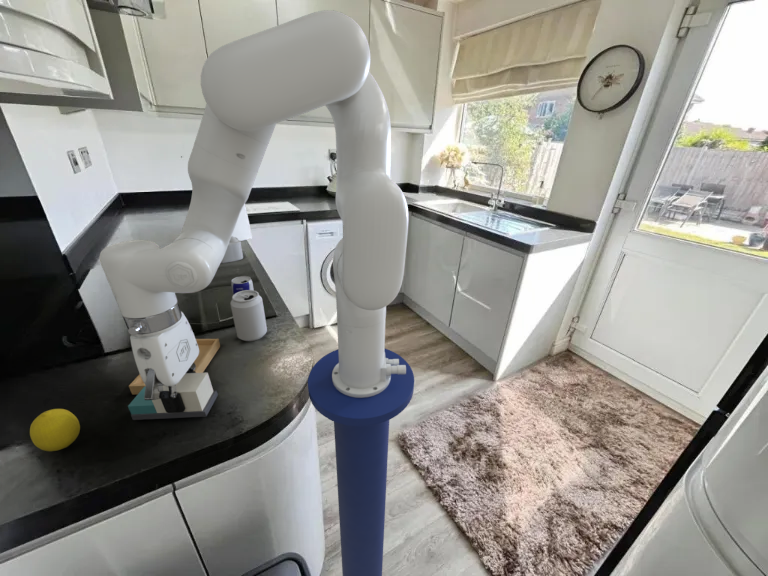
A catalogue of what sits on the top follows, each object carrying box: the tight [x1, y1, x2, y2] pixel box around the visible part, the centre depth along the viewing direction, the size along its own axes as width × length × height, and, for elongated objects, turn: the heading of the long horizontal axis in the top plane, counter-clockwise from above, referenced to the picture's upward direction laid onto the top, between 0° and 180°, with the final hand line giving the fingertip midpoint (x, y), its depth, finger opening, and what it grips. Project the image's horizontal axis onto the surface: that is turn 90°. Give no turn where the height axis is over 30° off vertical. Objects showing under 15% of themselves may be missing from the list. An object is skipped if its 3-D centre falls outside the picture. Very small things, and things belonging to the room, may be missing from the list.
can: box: [229, 290, 268, 342], centre depth 83 cm, size 8×8×12 cm
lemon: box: [29, 408, 81, 452], centre depth 53 cm, size 6×6×8 cm
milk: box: [232, 203, 253, 242], centre depth 154 cm, size 12×12×26 cm
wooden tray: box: [128, 338, 221, 395], centre depth 73 cm, size 11×16×2 cm
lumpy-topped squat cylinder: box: [220, 236, 244, 264], centre depth 133 cm, size 10×13×9 cm
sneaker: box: [127, 372, 219, 421], centre depth 60 cm, size 13×5×6 cm, turn 94°
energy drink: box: [230, 275, 255, 296], centre depth 91 cm, size 5×5×12 cm
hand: (183, 398), depth 61 cm, fingers closed on sneaker, 5 cm apart
